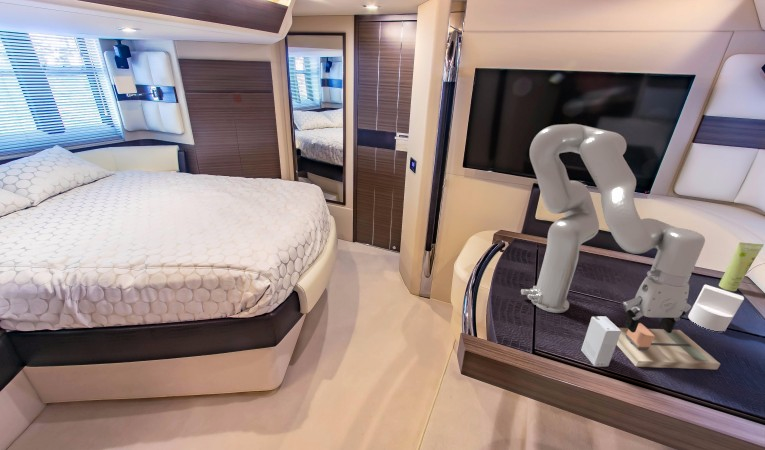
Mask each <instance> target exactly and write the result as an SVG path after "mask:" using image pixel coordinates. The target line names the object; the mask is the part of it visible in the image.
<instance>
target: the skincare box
mask: <svg viewBox="0 0 765 450" xmlns="http://www.w3.org/2000/svg"><path fill="white" fill-rule="evenodd" d="M619 328H620V327H618V326H617V325H616V324H615V323H613V322H612V321H611V320H610V318H609V317H607V316H606V315H605V316H601V315H600V316H599V315H598V316H591V318H590V322H589V324H588V327H587V331H586V334H585V336H584V339H583V340H584V341H583V343H582V346H581V352H582V353H583V354H584V356H585V357H586V359H587V360H588V361H589V362H590V363H591V364H592V366H593V367H602V368H604V367H605V368H606V367H609V365H610V363H611V360H612V358H613V354H614V353H615V350H616V348H617V342H618V339H619V337H620V334H621V330H620V329H619Z"/></svg>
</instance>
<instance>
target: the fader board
mask: <svg viewBox="0 0 765 450" xmlns="http://www.w3.org/2000/svg"><path fill="white" fill-rule="evenodd" d="M618 328H619V329H620V330H621V334H620V337H619V339H618V342H617V345H616V347H618V348H619V349H620V350H621V352H623V354H624V355H625V356H626V357H627V358H628V359H629V361H630V362H631V363H632V364H633V365H634V366H635V367H640V368H661V369H663V368H667V369H668V368H669V369H671V368H672V369H690V370H691V369H693V370H694V369H696V370H697V369H698V370H718V369H719V368H720V366H721V363H720V362H719V361H717V360H716V359H715V358H714V357H713V356H712V355H711V354H710V353H708V352H707V351H706V350H704V349H703V348H702V347H701V346H700V345H698V344H697V343H696V342H695V341H694V340H692V339H691V338H690V337H689V336H688V335H687V334H685V333H684V332H683V331H682V330H681V329H673V330H672V332H671V333H667V332H666V331H665V330H664V329H663V328H647V329H648V330H649V331H650V332H651V333H652V334H653V335H654V336H655V337H654V339H653V341H652V343H651V345H650V347H649V349H637V348H636V347H635V346H634V345H633V344H632V342H631V341H630V340H629V339H628V338H627V337H626V333H627V331H628V328H627V327H618Z"/></svg>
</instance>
